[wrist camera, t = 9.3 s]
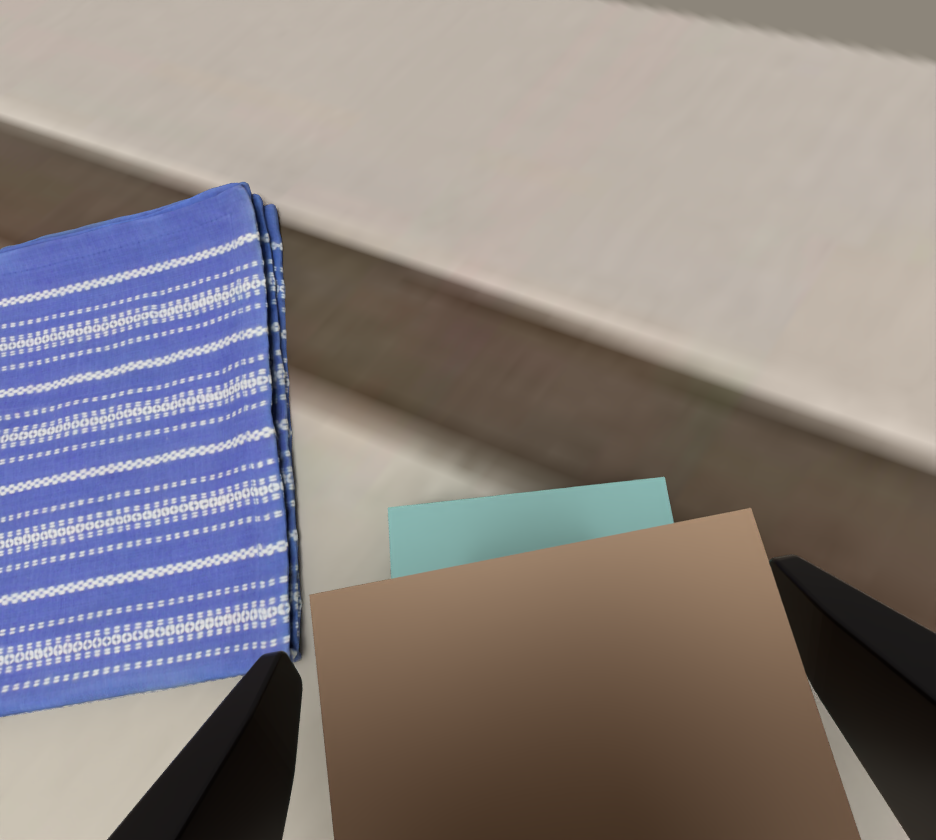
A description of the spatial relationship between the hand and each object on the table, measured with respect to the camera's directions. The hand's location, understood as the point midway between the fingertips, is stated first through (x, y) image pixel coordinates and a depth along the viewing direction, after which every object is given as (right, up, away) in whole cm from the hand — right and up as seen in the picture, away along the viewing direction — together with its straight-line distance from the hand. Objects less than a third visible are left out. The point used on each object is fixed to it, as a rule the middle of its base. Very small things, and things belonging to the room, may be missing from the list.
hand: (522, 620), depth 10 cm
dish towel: (-18, +3, +17) cm, 25 cm away
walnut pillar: (+2, -3, +8) cm, 9 cm away
